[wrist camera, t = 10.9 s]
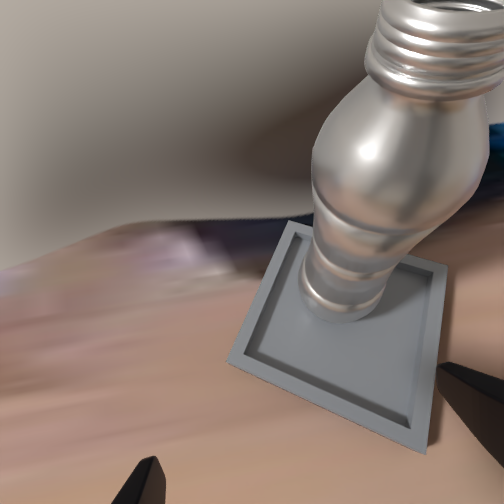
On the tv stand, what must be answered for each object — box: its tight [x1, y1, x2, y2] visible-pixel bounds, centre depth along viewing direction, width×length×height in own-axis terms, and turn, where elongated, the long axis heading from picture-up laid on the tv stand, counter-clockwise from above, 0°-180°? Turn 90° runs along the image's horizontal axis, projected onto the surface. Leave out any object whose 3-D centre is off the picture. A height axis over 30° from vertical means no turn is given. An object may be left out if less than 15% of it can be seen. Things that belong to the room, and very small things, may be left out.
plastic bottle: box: [298, 0, 504, 324], centre depth 15 cm, size 6×7×20 cm
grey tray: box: [226, 221, 448, 455], centre depth 22 cm, size 14×14×2 cm
